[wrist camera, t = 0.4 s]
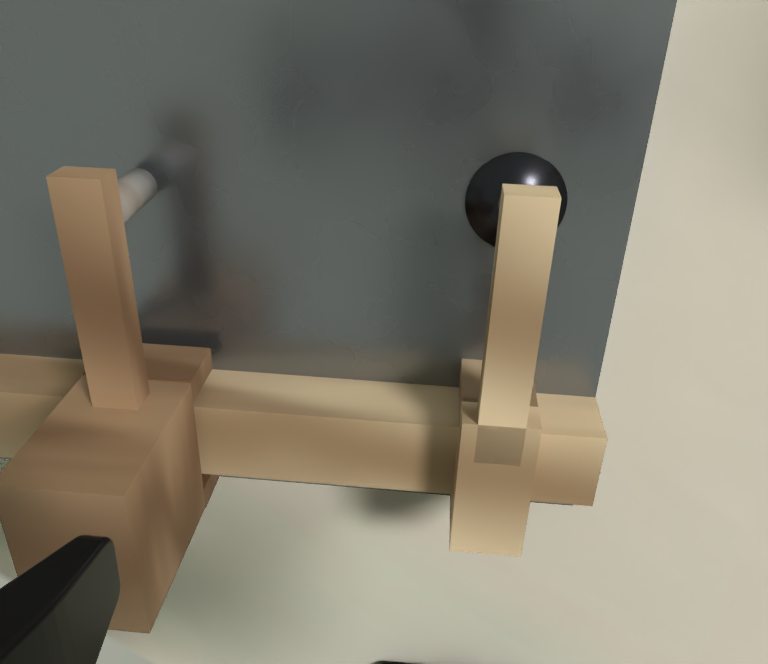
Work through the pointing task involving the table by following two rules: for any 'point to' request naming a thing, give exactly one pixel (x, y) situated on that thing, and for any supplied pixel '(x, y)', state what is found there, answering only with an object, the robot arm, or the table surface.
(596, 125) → the steel plate
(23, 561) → the slider leg
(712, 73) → the table surface
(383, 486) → the compass bar
